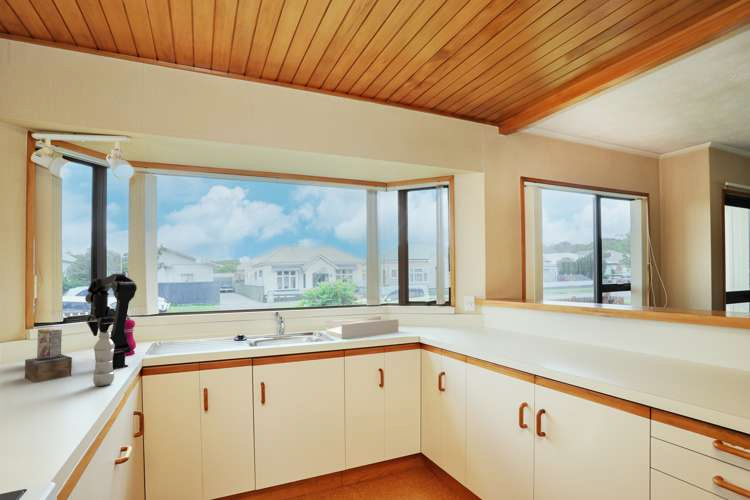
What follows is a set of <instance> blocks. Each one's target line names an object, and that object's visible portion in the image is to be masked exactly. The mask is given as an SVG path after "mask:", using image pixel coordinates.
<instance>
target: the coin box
mask: <svg viewBox="0 0 750 500" xmlns="http://www.w3.org/2000/svg"><path fill="white" fill-rule="evenodd" d="M24 362H25V363H24V365H25V366H24V379H26V380H28V381H29V382H33V383H34V384H35V383H39V382H44V381H49V380H57V379H61V378H65V377H70V376H72V369H73V368H72V366H73V357H72V356H68V355H66V354H62V353H61V354H60V355H53V356H46V357H39V358H37V357H33V358H29V359H28V358H26V359H25V360H24Z"/></svg>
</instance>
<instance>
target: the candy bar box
mask: <svg viewBox="0 0 750 500" xmlns="http://www.w3.org/2000/svg"><path fill="white" fill-rule="evenodd" d="M62 333H63V331H62V329H57V328H51V327H49V328H40V329H37V346H36V347H37V348H36V349H37V352H36V353H37V354H36V358H39V357H46V356H53V355H60V354H62Z"/></svg>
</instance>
